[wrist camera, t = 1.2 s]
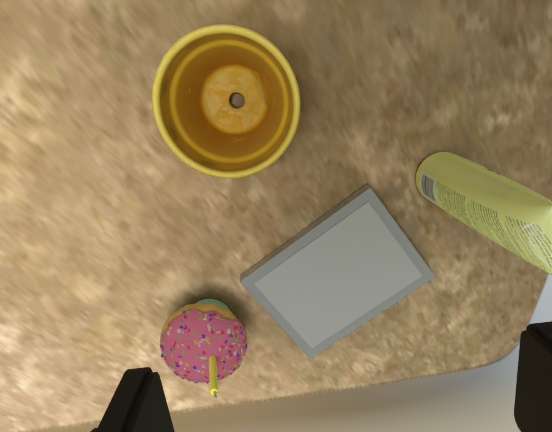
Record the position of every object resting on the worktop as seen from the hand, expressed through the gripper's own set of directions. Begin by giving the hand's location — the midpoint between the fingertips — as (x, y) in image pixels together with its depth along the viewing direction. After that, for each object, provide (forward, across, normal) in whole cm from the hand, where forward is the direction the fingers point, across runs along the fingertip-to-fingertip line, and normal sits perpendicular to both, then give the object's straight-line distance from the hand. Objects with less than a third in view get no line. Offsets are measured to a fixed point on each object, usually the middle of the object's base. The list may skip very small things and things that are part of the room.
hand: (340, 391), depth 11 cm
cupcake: (+30, +10, +16) cm, 36 cm away
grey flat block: (+30, -4, +13) cm, 33 cm away
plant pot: (+31, +4, -6) cm, 31 cm away
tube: (+31, -14, +4) cm, 34 cm away
